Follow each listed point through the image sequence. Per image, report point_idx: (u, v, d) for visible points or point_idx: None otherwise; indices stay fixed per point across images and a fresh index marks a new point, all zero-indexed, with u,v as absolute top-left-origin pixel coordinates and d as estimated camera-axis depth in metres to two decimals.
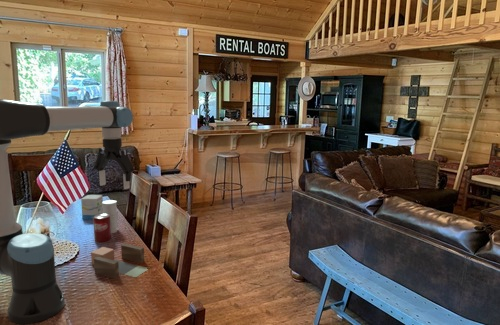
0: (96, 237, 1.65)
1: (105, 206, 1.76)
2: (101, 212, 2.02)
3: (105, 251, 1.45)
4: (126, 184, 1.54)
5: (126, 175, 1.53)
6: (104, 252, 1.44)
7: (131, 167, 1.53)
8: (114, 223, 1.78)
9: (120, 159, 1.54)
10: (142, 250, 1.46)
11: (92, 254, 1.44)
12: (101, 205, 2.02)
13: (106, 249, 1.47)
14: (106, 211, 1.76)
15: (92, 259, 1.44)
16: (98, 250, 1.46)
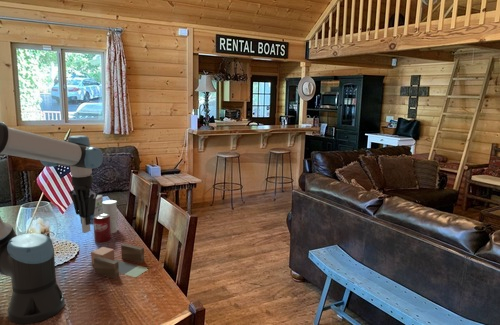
0: (96, 237, 1.65)
1: (105, 206, 1.76)
2: (101, 212, 2.02)
3: (105, 251, 1.45)
4: (86, 227, 1.47)
5: (86, 218, 1.46)
6: (104, 252, 1.44)
7: (92, 211, 1.45)
8: (114, 223, 1.78)
9: (87, 200, 1.45)
10: (142, 250, 1.46)
11: (92, 254, 1.44)
12: (101, 205, 2.02)
13: (106, 249, 1.47)
14: (106, 211, 1.76)
15: (92, 259, 1.44)
16: (98, 250, 1.46)
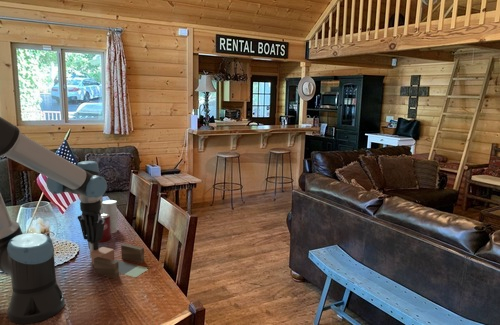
0: None
1: (105, 206, 1.76)
2: (101, 212, 2.02)
3: (105, 251, 1.45)
4: None
5: (94, 244, 1.46)
6: (104, 252, 1.44)
7: (101, 236, 1.45)
8: (114, 223, 1.78)
9: (95, 225, 1.45)
10: (142, 250, 1.46)
11: (92, 254, 1.44)
12: (101, 205, 2.02)
13: (106, 249, 1.47)
14: (106, 211, 1.76)
15: (92, 259, 1.44)
16: (98, 250, 1.46)
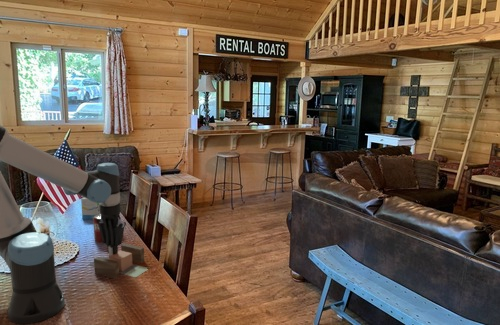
0: (96, 237, 1.65)
1: None
2: None
3: (123, 255, 1.42)
4: None
5: (113, 248, 1.42)
6: (123, 255, 1.41)
7: (120, 240, 1.41)
8: None
9: (115, 229, 1.41)
10: (142, 250, 1.46)
11: (110, 258, 1.40)
12: None
13: (124, 253, 1.43)
14: None
15: None
16: (116, 254, 1.42)
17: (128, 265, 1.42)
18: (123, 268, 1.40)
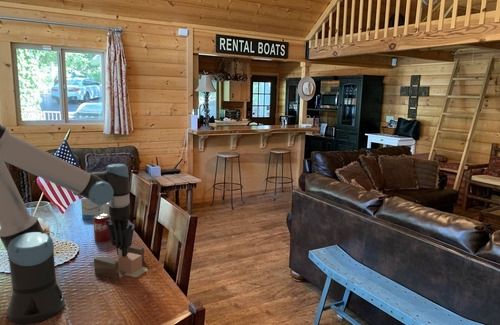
0: (96, 237, 1.65)
1: (105, 206, 1.76)
2: (101, 212, 2.02)
3: (133, 257, 1.40)
4: None
5: (122, 250, 1.40)
6: (132, 258, 1.39)
7: (130, 242, 1.39)
8: None
9: (124, 231, 1.39)
10: (142, 250, 1.46)
11: (120, 260, 1.38)
12: (101, 205, 2.02)
13: (134, 255, 1.41)
14: (106, 211, 1.76)
15: (120, 265, 1.39)
16: (125, 256, 1.40)
17: (138, 267, 1.40)
18: (133, 270, 1.38)
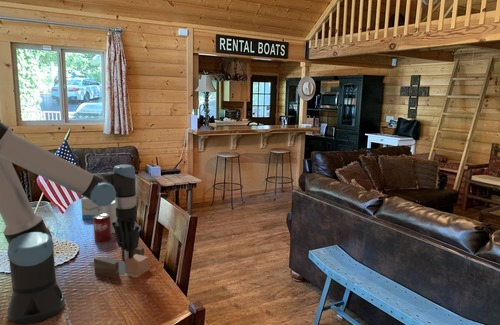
0: (96, 237, 1.65)
1: (105, 206, 1.76)
2: (101, 212, 2.02)
3: (139, 258, 1.38)
4: None
5: (129, 251, 1.38)
6: (139, 259, 1.38)
7: (136, 244, 1.38)
8: None
9: (131, 232, 1.37)
10: (142, 250, 1.46)
11: (126, 262, 1.37)
12: None
13: (140, 256, 1.40)
14: (106, 211, 1.76)
15: (126, 267, 1.38)
16: (132, 258, 1.39)
17: (144, 269, 1.39)
18: (139, 272, 1.37)
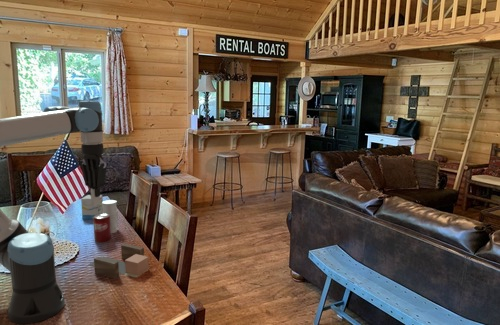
0: (96, 237, 1.65)
1: (105, 206, 1.76)
2: (101, 212, 2.02)
3: (139, 258, 1.38)
4: (95, 200, 1.38)
5: (95, 190, 1.37)
6: (139, 259, 1.38)
7: (102, 182, 1.36)
8: (114, 223, 1.78)
9: (97, 170, 1.36)
10: (142, 250, 1.46)
11: (126, 262, 1.37)
12: (101, 205, 2.02)
13: (140, 256, 1.40)
14: (106, 211, 1.76)
15: (126, 267, 1.38)
16: (132, 258, 1.39)
17: (144, 269, 1.39)
18: (139, 272, 1.37)
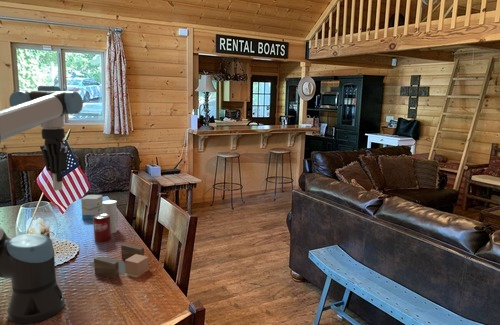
0: (96, 237, 1.65)
1: (105, 206, 1.76)
2: (101, 212, 2.02)
3: (139, 258, 1.38)
4: (57, 185, 1.39)
5: (57, 175, 1.38)
6: (139, 259, 1.38)
7: (64, 167, 1.37)
8: (114, 223, 1.78)
9: (58, 155, 1.37)
10: (142, 250, 1.46)
11: (126, 262, 1.37)
12: (101, 205, 2.02)
13: (140, 256, 1.40)
14: (106, 211, 1.76)
15: (126, 267, 1.38)
16: (132, 258, 1.39)
17: (144, 269, 1.39)
18: (139, 272, 1.37)
